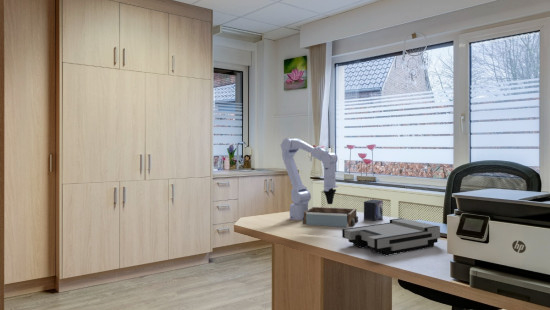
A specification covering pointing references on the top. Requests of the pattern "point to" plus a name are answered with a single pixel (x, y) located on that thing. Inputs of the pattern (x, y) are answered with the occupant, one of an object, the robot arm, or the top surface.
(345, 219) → the tailgate
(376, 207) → the small box
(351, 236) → the game console
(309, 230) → the top surface
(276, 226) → the top surface
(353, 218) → the cart bed
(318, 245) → the top surface
